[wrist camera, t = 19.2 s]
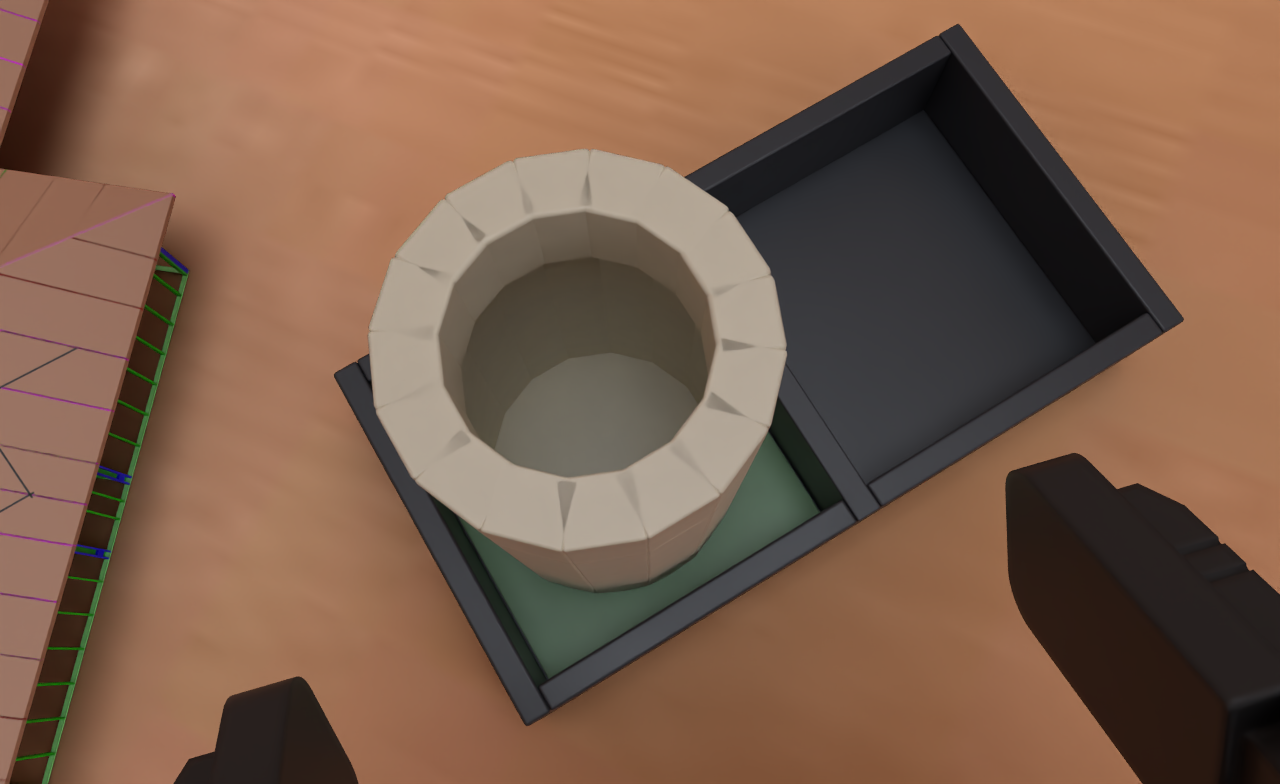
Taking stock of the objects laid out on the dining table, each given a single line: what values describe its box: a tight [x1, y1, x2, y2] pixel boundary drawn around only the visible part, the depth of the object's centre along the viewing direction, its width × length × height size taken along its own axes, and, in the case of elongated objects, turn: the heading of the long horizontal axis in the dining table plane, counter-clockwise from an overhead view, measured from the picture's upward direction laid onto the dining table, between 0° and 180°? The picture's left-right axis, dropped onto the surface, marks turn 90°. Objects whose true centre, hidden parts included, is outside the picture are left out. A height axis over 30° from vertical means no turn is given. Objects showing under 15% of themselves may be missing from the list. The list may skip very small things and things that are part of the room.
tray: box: [334, 24, 1184, 726], centre depth 25 cm, size 17×9×3 cm, turn 121°
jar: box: [368, 149, 787, 593], centre depth 21 cm, size 6×6×10 cm
